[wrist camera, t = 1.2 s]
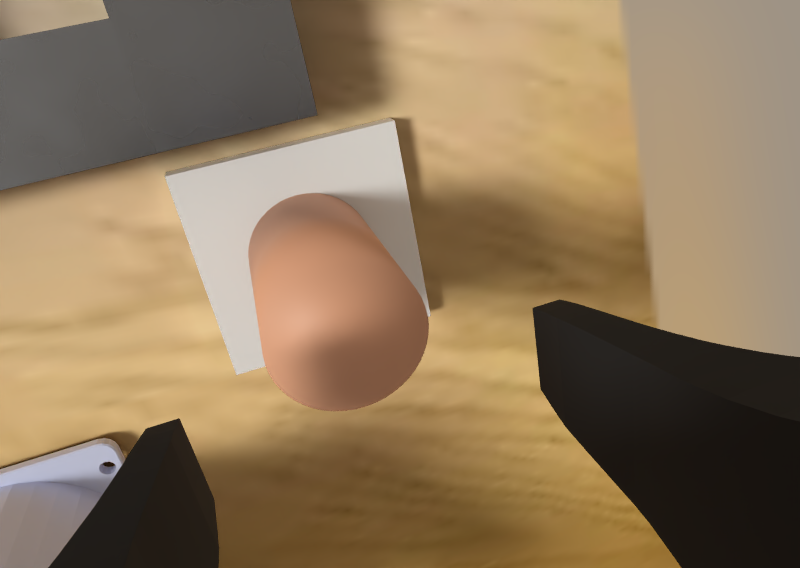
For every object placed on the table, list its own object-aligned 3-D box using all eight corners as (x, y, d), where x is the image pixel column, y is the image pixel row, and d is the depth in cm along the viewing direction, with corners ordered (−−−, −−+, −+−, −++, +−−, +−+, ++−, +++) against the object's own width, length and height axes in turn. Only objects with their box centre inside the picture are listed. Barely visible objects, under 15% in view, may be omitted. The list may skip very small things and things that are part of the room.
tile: (425, 308, 22) (430, 315, 22) (236, 366, 21) (236, 375, 21) (389, 117, 19) (394, 120, 19) (166, 171, 18) (164, 176, 18)
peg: (382, 290, 21) (440, 382, 16) (268, 324, 20) (287, 431, 15) (358, 179, 19) (413, 239, 14) (231, 211, 19) (239, 288, 13)
